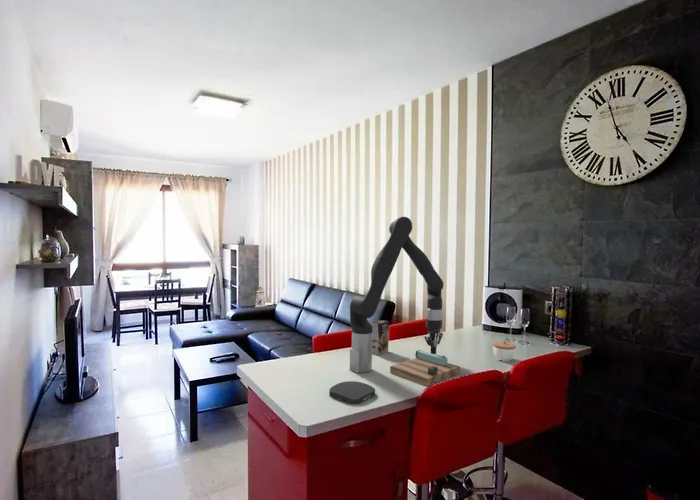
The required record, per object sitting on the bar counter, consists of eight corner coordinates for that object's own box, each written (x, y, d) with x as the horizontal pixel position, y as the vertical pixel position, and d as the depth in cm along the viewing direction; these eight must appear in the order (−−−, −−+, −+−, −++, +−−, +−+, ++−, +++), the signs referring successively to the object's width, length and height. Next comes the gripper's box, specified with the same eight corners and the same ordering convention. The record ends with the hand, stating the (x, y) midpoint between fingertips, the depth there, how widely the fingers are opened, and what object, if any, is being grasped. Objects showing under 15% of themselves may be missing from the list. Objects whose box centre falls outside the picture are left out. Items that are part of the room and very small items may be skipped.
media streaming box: (349, 385, 157) (349, 377, 157) (379, 395, 147) (379, 387, 147) (324, 396, 145) (325, 388, 145) (355, 407, 136) (355, 399, 136)
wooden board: (427, 386, 156) (427, 372, 156) (390, 372, 171) (390, 360, 171) (459, 373, 172) (460, 361, 172) (423, 362, 187) (423, 350, 187)
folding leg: (447, 364, 174) (447, 356, 174) (443, 365, 172) (443, 357, 172) (419, 356, 186) (419, 348, 186) (415, 357, 184) (415, 349, 184)
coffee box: (379, 355, 197) (380, 323, 196) (368, 352, 201) (369, 322, 200) (388, 351, 204) (389, 320, 203) (378, 349, 208) (379, 319, 207)
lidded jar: (517, 363, 187) (518, 344, 187) (494, 362, 189) (494, 343, 189) (513, 357, 198) (513, 339, 197) (490, 355, 200) (491, 337, 199)
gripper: (435, 315, 193) (434, 349, 193) (419, 318, 183) (418, 354, 184) (448, 317, 187) (447, 353, 188) (433, 321, 178) (432, 358, 178)
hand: (433, 353), depth 186 cm, fingers closed
